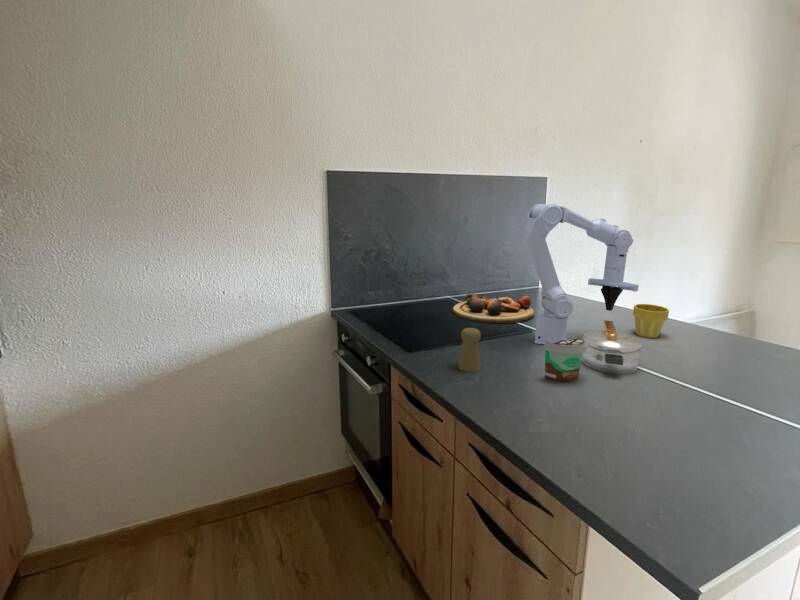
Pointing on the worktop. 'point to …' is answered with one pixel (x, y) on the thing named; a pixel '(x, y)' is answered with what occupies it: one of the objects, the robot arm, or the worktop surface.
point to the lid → (612, 340)
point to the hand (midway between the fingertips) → (609, 309)
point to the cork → (470, 350)
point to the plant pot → (649, 319)
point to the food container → (564, 359)
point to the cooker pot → (610, 360)
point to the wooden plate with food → (494, 309)
